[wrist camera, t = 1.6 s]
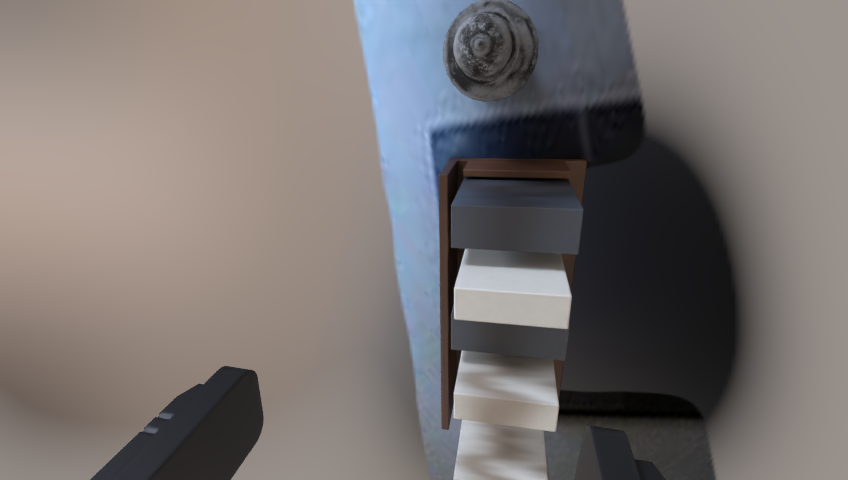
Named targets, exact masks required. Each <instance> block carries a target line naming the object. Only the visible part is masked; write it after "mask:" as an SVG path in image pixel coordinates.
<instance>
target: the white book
mask: <svg viewBox="0 0 848 480" xmlns="http://www.w3.org/2000/svg"><path fill="white" fill-rule="evenodd" d="M571 301H572V295H571V291H570V287H569V283H568V279H567V275H566V271H565V268H564V264H563V260H562V256H561V254H556V253H538V252H519V251H501V250H482V249H465V251H464V255H463V258H462V262H461V266H460V269H459V273H458V276H457V280H456V283H455V287H454V319H456V320H467V321H478V322H490V323H501V324H513V325H524V326H536V327H547V328H559V329H568V326H569V318H570V310H571Z"/></svg>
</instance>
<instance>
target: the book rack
mask: <svg viewBox="0 0 848 480" xmlns="http://www.w3.org/2000/svg"><path fill="white" fill-rule="evenodd" d="M586 167H587V161H586V160H584V159H505V158H450V159H449V162H448V164H447V165H446V166H445V168H444V169H443V170H442V172H441V173H440V174H439V233H440V323H441V413H442V429H446V430H448V429H449V425H450V420H451V414H452V409H453V403H454V418H455V419H461V420H462V426H461V432H460V439H459V445H458V452H457V459H456V465H455V472H454V480H548V478H547V466H546V453H545V441H544V431H552V432H556V428H557V419H558V411H559V401H558V399H559V396H560V387H561V379H562V370H563V362H564V361H566V354H567V346H568V338H569V330H570V322H569V326H568V329H559V328H547V327H536V326H524V325H513V324H501V323H490V322H478V321H467V320H456V319H454V287H455V283H456V280H457V276H458V273H459V269H460V266H461V262H462V258H463V255H464V251H465V249H482V250H501V251H519V252H538V253H556V254H561V256H562V260H563V264H564V268H565V271H566V275H567V279H568V283H569V287H570V291H571V294H572V285H573V277H574V269H575V260H576V255H577V254H579V246H580V237H581V230H582V221H583V213H584V209H583V208H582V201H583V192H584V184H585V175H586Z"/></svg>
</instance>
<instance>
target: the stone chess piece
mask: <svg viewBox="0 0 848 480" xmlns="http://www.w3.org/2000/svg"><path fill="white" fill-rule="evenodd" d="M443 56H444V65H445V68H446V72H447V75H448V77H449V78H450V80H451V82H452V83H453V85H454V86H455V87H456V88H457V89H458V90H459V91H460V92H461V93H462V94H464V95H466V96H468V97H470V98H472V99H475V100H479V101H484V102H486V101H497V100H500V99H503V98H506V97H509V96H510V95H512V94H513V93H515V92H516V91H518V90H519V89H520V88H521V87H522V86H523V85H524V84H525V82H526V81H527V80H528V78H529V77H530V75H531V73H532V71H533V70H534V67H535V63H536V60H537V56H538V38H537V34H536V29H535V27H534V25H533V23H532V21H531V19H530V17H529V16H528V15H527V14H526V13H525V12H524V11H523V10H522V9H521V8H520V7H519V6H517V5H515V4H513V3H511V2H510V1H507V0H481V1H479V2H476V3H474V4H471V5H470V6H468V7H467V8H466V9H464V10H463V11H462V12H460V13H459V15H458V16H457V17H456V18H455V20H454V21H453V22H452V24H451V26H450V28H449V30H448V32H447V34H446V37H445V43H444V48H443Z"/></svg>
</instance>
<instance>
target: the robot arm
mask: <svg viewBox="0 0 848 480" xmlns="http://www.w3.org/2000/svg"><path fill="white" fill-rule="evenodd" d="M262 426H263V411H262V404H261V397H260V391H259V384H258V377H257V374H256V373H255V371H252V370H247V369H241V368H235V367H229V366H224V367H222V368H220V369H219V370H218V371H217V372H216V373H215V374H214V375H213V376H212V377H211V378H210V379H209V380H208V381H207V382H206V383H205V384H204V385H203V384H198V385H196V386H194V387H193V388H191V389H189V390H188V391H186V392H184V393H182V394H181V395H179V396H177V397H176V398H175V399H174V400H173V401H172V402H171V403H170V404H169V405H168V406H167V407H166V408H165V409H164V410H162V411H161V412H160V413H159V416H158V417H155V418H154V419H153V420H152V421H151V422H150V423H149V424H148V425H147V426H146V427H145V428H144V431H143V432H140V433H138V435H137V436H135V437H134V438H133V439H132V440H131V441H130V442H129V443H128V444H127V445H126V446H125V447H124V448H123V449H122V450H121V451H120V452H119V453H118V454H117V455H116V456H114V457H113V458H112V459H111V460H110V461H109V462H108V463H107V464H106V465H105V466H104V467H103V468H102V469H101V470H100V471H99V472H98V473H97V474H96V475H95V476H94V477H93V478H92V479H91V480H231V478H232V477H233V475H234V474H235V473H236V471H237V470H238V468H239V467H240V465H241V464H242V462H243V461H244V460H245V458H246V456H247V455H248V453H249V452H250V451H251V450H252V448H253V447H254V445H255V444H256V442H257V440H258V438H259V436H260V433H261V430H262ZM575 480H665V478H664V477H663V476H662V475H661V473H660V472H659V471H658V470H657V468H656V467H655V466H654V465H653V463H652V462H648V461H642V460H636V459H634V457H633V454H632V450H631V447H630V444H629V441H628V438H627V435H626V433H625V432H624V431H621V430H615V429H608V428H602V427H596V426H590V425H588V426H587V427H586V429H585V432H584V437H583V441H582V446H581V450H580V455H579V460H578V464H577V469H576V474H575Z"/></svg>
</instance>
